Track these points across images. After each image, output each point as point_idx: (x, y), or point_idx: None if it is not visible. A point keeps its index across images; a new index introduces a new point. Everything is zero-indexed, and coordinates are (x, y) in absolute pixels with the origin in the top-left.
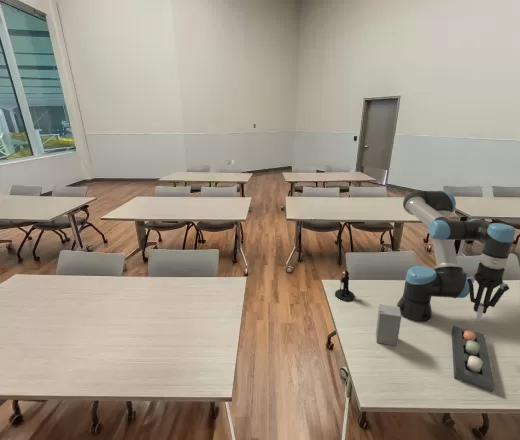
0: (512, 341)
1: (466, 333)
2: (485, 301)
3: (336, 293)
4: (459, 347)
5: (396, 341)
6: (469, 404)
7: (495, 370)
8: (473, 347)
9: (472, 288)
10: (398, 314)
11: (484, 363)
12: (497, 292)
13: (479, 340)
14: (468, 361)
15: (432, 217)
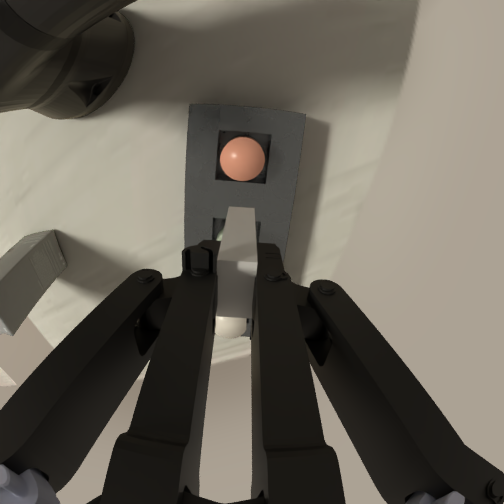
0: (394, 87)
1: (226, 165)
2: (252, 357)
3: None
4: (199, 238)
5: (57, 275)
6: (217, 357)
7: (299, 249)
8: None
9: (84, 440)
10: (5, 329)
11: None
12: (378, 440)
13: (277, 163)
14: None
15: None
